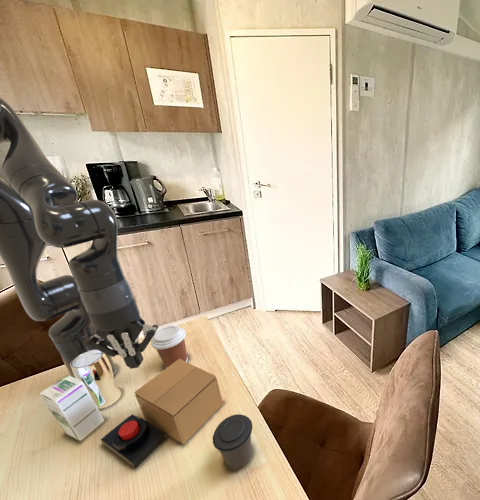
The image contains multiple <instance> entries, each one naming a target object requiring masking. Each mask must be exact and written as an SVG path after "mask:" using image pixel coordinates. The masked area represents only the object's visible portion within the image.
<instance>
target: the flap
mask: <svg viewBox="0 0 480 500" xmlns="http://www.w3.org/2000/svg"><path fill="white" fill-rule="evenodd" d="M197 367H198V366H195V365H194V364H192V363H189V362H188V361H187V362H185V361H183V360H181V359H178V360H177V361H175V362H174V363H173V364H171V365H170V366H169V367H167V368H165V369H163V370H162V371H161V372H159V373H158V374H156V375H155V376H154V377H153V378H151V379H150V380H148V381H147V382H146V383H144V384H143V385H142V386H140V387H139V388H138V389H137V390H135V391H134V395H138V396H140V397H141V398H143V399H145V400H146V401H148V402H150V403H151V404H153V403H154V402H155V401H156V400H158V399H159V398H160V397H161V396H163V395H164V394H165V393H166V392H167V391H169V390H170V389H171V388H172V387H173V386H175V385H176V384H177V383H178V382H180V381H181V380H182V379H183V378H184V377H186V376H187V375H188V374H189V373H190V372H192V371H193V370H194V369H195V368H197Z"/></svg>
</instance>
